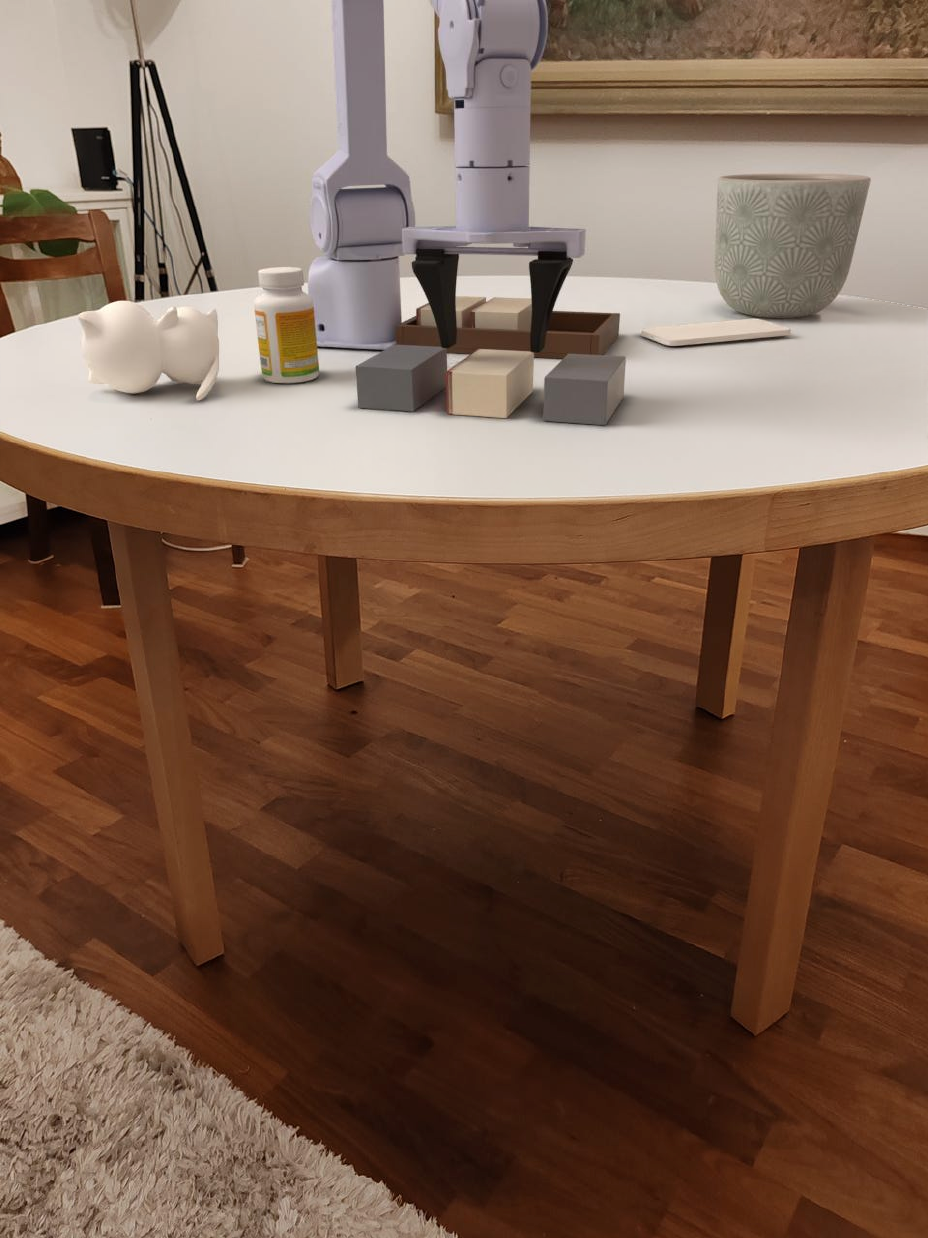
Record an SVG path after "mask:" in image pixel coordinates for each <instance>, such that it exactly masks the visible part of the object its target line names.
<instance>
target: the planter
mask: <svg viewBox="0 0 928 1238" xmlns="http://www.w3.org/2000/svg"><path fill="white" fill-rule="evenodd" d="M871 181H872V179H871V177H870V176H867V175H859V174H841V173H840V174H839V173H748V174H729V175H722V176H719V177H718V178H717V187H716V188H717V191H716V215H715V217H716V219H715V220H716V221H715V250H714V274H715V281H716V286H717V289H718V292H719V295H720V296H721V297H722V299H723V301H724V302H725V303H726V305H727V306H729V307H730V308H731V309H733V310H734V311H736V312H738V313H741V314H744V315H748V316H753V317H757V318H758V317H759V318H768V319H769V318H772V319H794V318H802V317H809V316H812V315H815V314H817V313H819V312H821V311H822V310H825V309H826V308H827V307H828V306H829V305H831V303H833V302H834V301H835V300H836V298H837V297H838V296H839V294H840V293H841V290H842V289H843V287H844V285H845V283H846V281H847V278H848V276H849V273H850V269H851V265H852V261H853V257H854V253H855V249H856V244H857V240H858V237H859V236H858V235H859V231H860V227H861V224H862V223H861V222H862V219H863V215H864V210H865V207H866V202H867V198H868V193H869V189H870V185H871Z"/></svg>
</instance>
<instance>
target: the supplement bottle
mask: <svg viewBox="0 0 928 1238" xmlns="http://www.w3.org/2000/svg"><path fill="white" fill-rule="evenodd" d="M257 272H258V273H257V274H258V284H259V287H260V288H261V289H262V293H261V294H259V295H257V296H256V298H255V299H254V302H253V303H254V304H253V306H254V316H255V324H256V325H255V326H256V335H257V343H258V352H259V361H260V369H261V376H262V378H263V380H265V381H266V382H268V383H273V384H297V383H304V382H310V381H313V380H314V379H316V378H318V377H319V374H320V364H319V362H320V361H319V354H318V352H319V351H318V346H317V339H316V328H315V316H314V305H313V300H312V298H311V296H310V295H308V292H304V291H303V286H304V285H305V278H304V270H303V268H302V267H295V266H280V267H279V266H278V267H267V268H261V269H259V270H258V271H257Z"/></svg>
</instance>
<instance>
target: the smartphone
mask: <svg viewBox="0 0 928 1238" xmlns="http://www.w3.org/2000/svg"><path fill="white" fill-rule="evenodd" d="M790 334H791V328H790V327H788V326H785V325H781V324H778V323H775V322H771V321H768V320H764V319H761V318H743V319H741V318H740V319H731V320H730V319H729V320H720V321H708V322H698V323H688V324H687V323H686V324H685V323H684V324H677V325H665V326H664V325H663V326H654V327H644V328H643V327H642V328H641V329H640V335H641V336H642V337H644V338H646V339H649V340H651V341H654V342H657V343H660V344H662V345H665V346H670V347H677V346H679V347H680V346H688V345H689V346H691V345H700V344H701V345H702V344H710V343H719V342H721V343H723V342H730V341H742V340H752V339H753V340H754V339H761V338H772V337H773V338H774V337H783V336H784V337H785V336H789V335H790Z"/></svg>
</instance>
